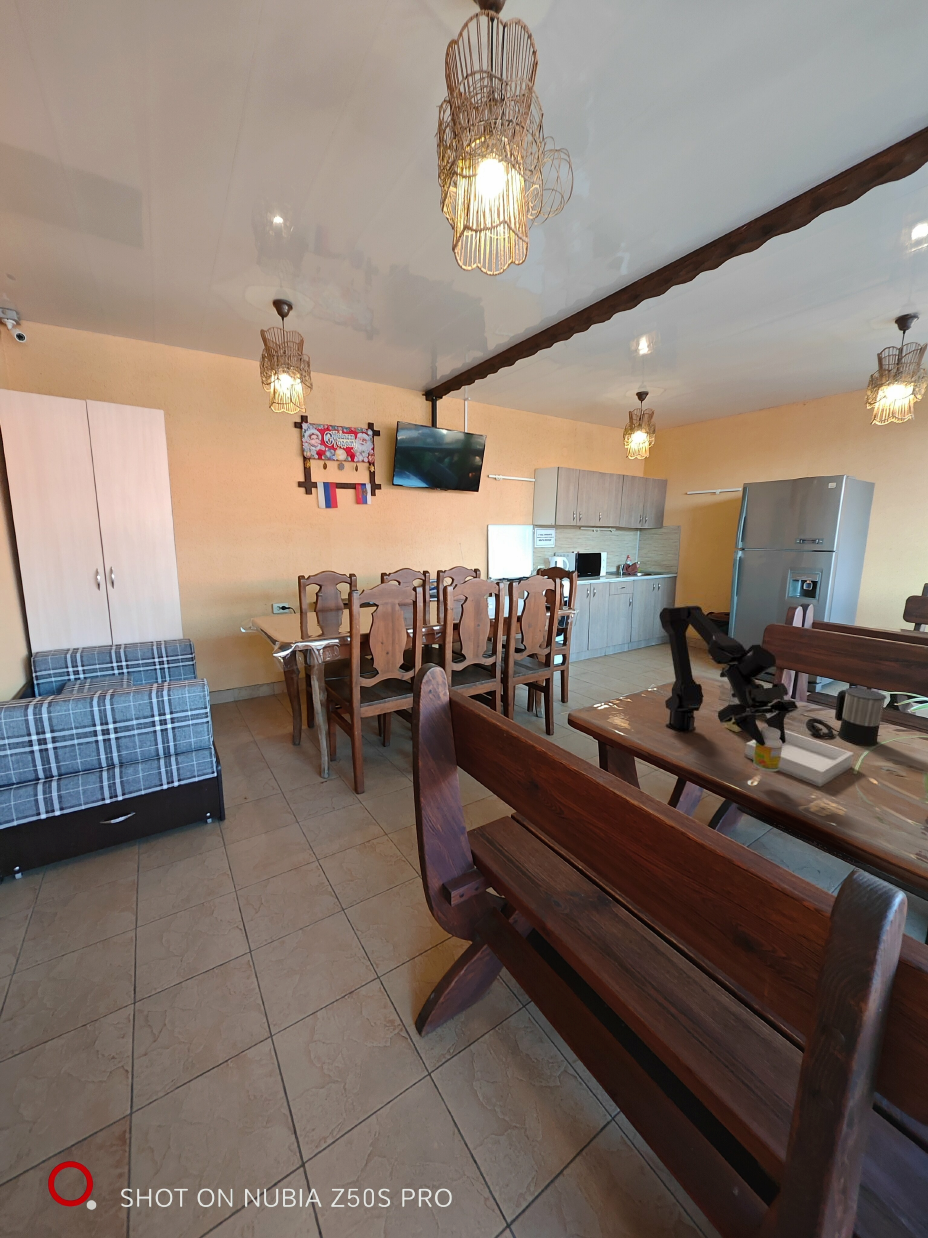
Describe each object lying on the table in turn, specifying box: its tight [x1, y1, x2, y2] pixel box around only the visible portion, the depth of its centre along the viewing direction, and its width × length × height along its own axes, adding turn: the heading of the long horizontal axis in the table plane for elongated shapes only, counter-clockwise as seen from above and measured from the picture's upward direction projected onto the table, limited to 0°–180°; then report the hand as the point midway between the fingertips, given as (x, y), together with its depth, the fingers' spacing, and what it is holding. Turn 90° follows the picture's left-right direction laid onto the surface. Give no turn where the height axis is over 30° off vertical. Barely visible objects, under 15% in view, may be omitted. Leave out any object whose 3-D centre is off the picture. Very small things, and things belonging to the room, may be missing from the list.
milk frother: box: [805, 687, 887, 747], centre depth 137 cm, size 14×16×15 cm
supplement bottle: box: [752, 726, 782, 772], centre depth 112 cm, size 5×5×10 cm
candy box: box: [725, 680, 761, 733], centre depth 144 cm, size 9×4×15 cm, turn 116°
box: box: [744, 729, 855, 788], centre depth 124 cm, size 18×18×4 cm
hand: (773, 744), depth 110 cm, fingers closed on supplement bottle, 5 cm apart
